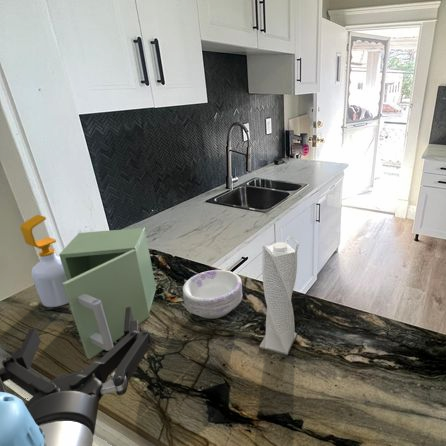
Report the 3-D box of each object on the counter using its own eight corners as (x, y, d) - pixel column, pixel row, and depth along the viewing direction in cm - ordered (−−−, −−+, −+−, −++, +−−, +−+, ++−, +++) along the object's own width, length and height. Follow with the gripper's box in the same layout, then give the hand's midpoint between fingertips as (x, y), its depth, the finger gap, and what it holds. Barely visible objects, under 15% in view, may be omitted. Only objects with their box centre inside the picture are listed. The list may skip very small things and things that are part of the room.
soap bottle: (88, 293, 91) (64, 215, 81) (54, 311, 84) (24, 227, 74) (68, 285, 95) (44, 209, 85) (35, 302, 87) (3, 221, 77)
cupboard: (149, 314, 83) (135, 247, 75) (81, 323, 80) (58, 254, 72) (156, 288, 94) (144, 227, 86) (96, 295, 90) (78, 232, 82)
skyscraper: (302, 335, 77) (305, 232, 66) (291, 360, 70) (293, 249, 59) (270, 328, 79) (268, 227, 68) (257, 351, 72) (252, 243, 61)
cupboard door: (166, 323, 80) (153, 255, 72) (107, 369, 67) (83, 292, 59) (147, 315, 83) (133, 249, 75) (86, 358, 69) (62, 283, 62)
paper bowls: (213, 285, 96) (210, 263, 93) (253, 301, 89) (252, 277, 86) (173, 314, 83) (169, 289, 80) (217, 334, 77) (214, 308, 74)
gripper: (-83, 517, 32) (-2, 363, 50) (176, 421, 42) (167, 321, 59) (-120, 472, 29) (-20, 326, 47) (168, 380, 39) (160, 288, 56)
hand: (84, 323), depth 53 cm, fingers open, 13 cm apart
